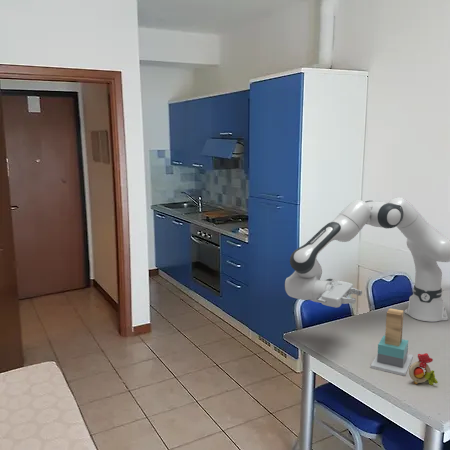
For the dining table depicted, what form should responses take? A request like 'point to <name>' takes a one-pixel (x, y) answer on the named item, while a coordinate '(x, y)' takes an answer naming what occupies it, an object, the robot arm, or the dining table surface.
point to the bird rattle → (418, 372)
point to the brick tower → (392, 357)
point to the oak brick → (394, 327)
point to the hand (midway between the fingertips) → (358, 297)
